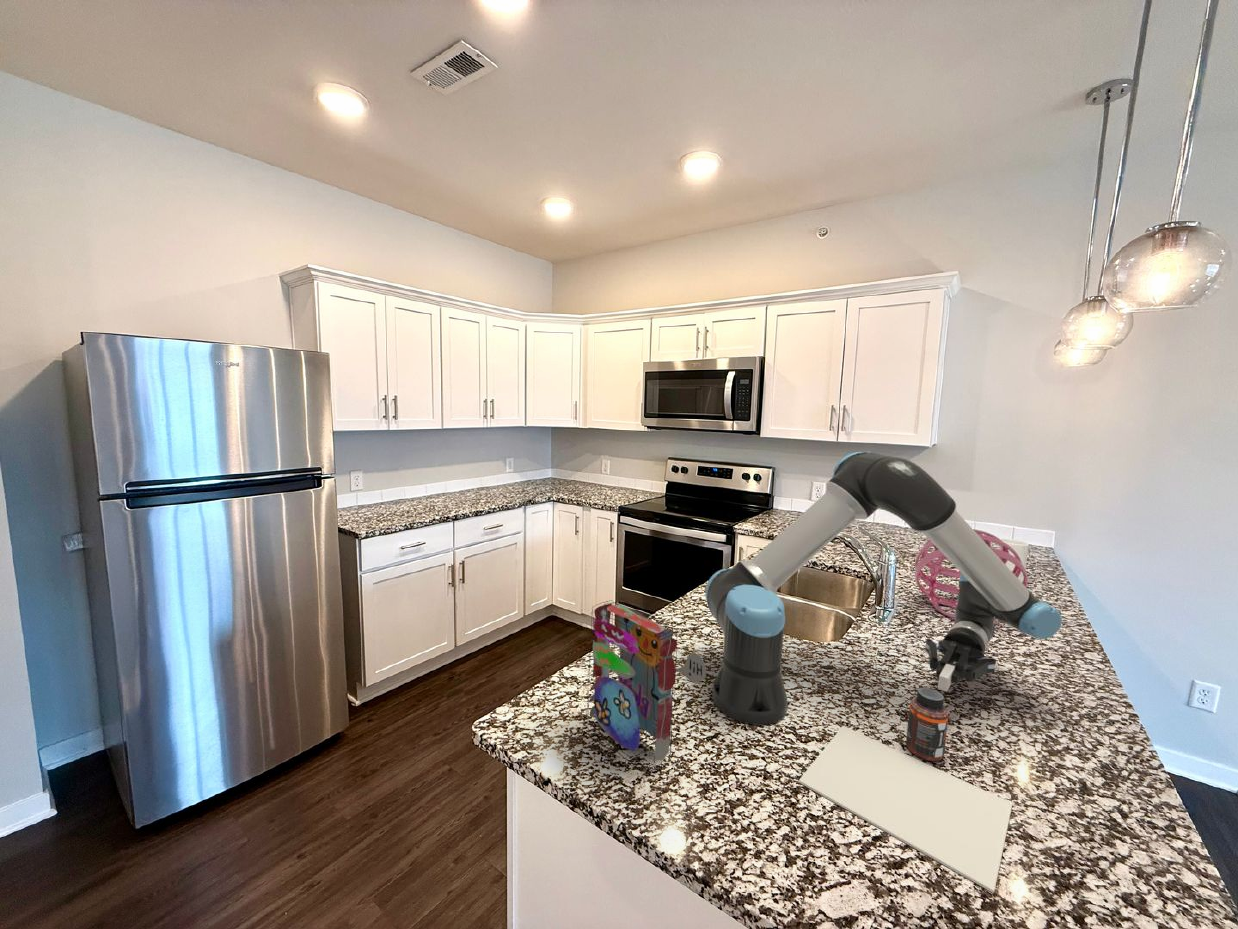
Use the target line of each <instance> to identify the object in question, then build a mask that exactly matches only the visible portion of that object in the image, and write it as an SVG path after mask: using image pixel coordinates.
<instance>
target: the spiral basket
mask: <svg viewBox="0 0 1238 929" xmlns="http://www.w3.org/2000/svg"><path fill="white" fill-rule="evenodd" d="M972 529H973V530H974V531H975V532H976V533H977V534H978V535H979V536H980V538H981V539H982V540H983V541H984V542H985V543H986V544H987V545H988V546H989V547H990V548H991V550H992V551H993V552H994V553H995V554H996V555H997V556H998V557H999V558H1000V559H1001V560H1002V562H1003V563H1004V564H1006V562H1007V561H1010V562H1012V563H1013V564H1015V567H1014V569H1013V571H1012V573H1013V574H1014V575H1015V576H1016V577H1017V578H1018V577H1019V575H1020V573H1021V571H1022V573H1023V582H1022V583H1023V585H1024V586H1025V587H1026V588H1027V586H1028V582H1029V581H1028V579H1029V578H1028V572H1027V568H1026V569H1025V567H1024V566H1023V564H1022V562H1021V559H1020V557H1019V555H1018V554H1017V553H1016V551H1015V550H1014V549H1013V548H1012V547H1010V546H1009V545H1008V544H1006V543H1005V542H1003V541H1002V540H1000V539H1001V538H999V537H997V535H994V534H993V533H990V532H987V531H983V530H980V529H974V528H972ZM991 543H995V544H996V545H998V547H999V546H1000V550H999V548H995V547H992V544H991ZM932 547H933V550H934V551H931V552H930V553H928V549H930V548H932ZM1008 550H1010V551H1011V552H1012V553H1013V555H1014V556H1015V557H1014V556H1012V555H1011V554H1009V551H1008ZM915 557H916V558H915V559H914V560H915V561H914V568H915V569H914V580H915V584H916V586H917V587H918V589H919V591H920V592H921V593H922V594H924V595H925V596H926V597H927V598H928V599H929V601H930V603H931V604H932V606H933V607H934V608H935V609H936V611H938V612H939V613H941V614H942V615H944V616H946V617H948V618H951V619H955V614H951V613H948V612H946V611H945V610H943V609H942V608H941V607H940V605H939V604H941V605H944V606H947V607H951V608H955V609H956V607H957V600H951V599H947V598H943V597H941V596H940V595H937V594H936V590H938V591H941V592H945V593H949V594H954V595H958V589H959V586H955V585H949V584H945V583H941V582H939V581H938V579H937V576H938V575H941V576H945V577H949V578H954V579H960V575H961V572H960V571H959V570H958V569H951V568H947V567H945V566H942V565H943V564H942V563H943V561H945V560H947V561H949V560H948V559H947V558H946V557H945V556H944V554H943V553H942V552H941V551H940V550H939V549H938V548H937V547H936V546H935V545H934V544H933V543H932V542H931V541H930V540H929V539H928V540H927V541H926V542H925V543H924V545H923V546H922V547H921V549H920V550H919V551H918V552H917V554H916V556H915ZM920 558H921V559H920ZM934 560H935V561H934ZM925 566H926V567H927V568H928V569H929V574H928V575H927V574H925V573H924V571H923V570H922V569H923V568H924V567H925ZM919 578H920V579H921V580H922V581H923V582H924V584H925V585H926V587H927V588H925V587H924V586H923V585H922V583H921V582H920V580H919Z"/></svg>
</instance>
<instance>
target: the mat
mask: <svg viewBox="0 0 1238 929" xmlns="http://www.w3.org/2000/svg"><path fill="white" fill-rule="evenodd" d="M798 783H799V784H801V785H803V786H804V787H806V788H808V789H809V790H811V791H813V792H815V793H817V794H818V795H820V796H822V797H824V798H826V799H827V800H829V801H831V802H832V803H834V804H836V805H838V806H839V807H840V808H843V809H845V810H847V811H848V812H850V813H852V814H854V815H855V816H857V817H858V818H860V819H862V820H864V821H866V822H868V823H869V824H871V825H873V826H874V827H876V828H878V829H880V830H882V831H884V832H885V833H886V834H888V835H891V836H892V837H894V838H896V839H897V840H900V841H901V842H902V843H904V844H906V845H907V846H910V847H912V849H914V850H917V851H919V853H922V854H923V855H926V856H928V857H929V858H931V859H932V860H934V861H936V862H938V863H939V864H942V865H943V866H945V867H947V869H950V870H952V871H954V872H956V873H957V874H959V875H961V876H963V877H964V878H966V879H968V880H969V881H971V882H973V883H975V884H976V885H978V886H980V887H982V888H984V889H985V890H987V891H989V892H991V893H992V894H995V891H996V885H997V880H998V876H999V871H1000V866H1001V862H1002V858H1003V857H1002V856H1003V852H1004V847H1005V842H1006V836H1007V832H1008V827H1009V822H1010V818H1011V813H1012V810H1013V809H1012V808H1013V802H1011V801H1008V800H1007V799H1004V798H1002V797H1000V796H998V795H996V794H994V793H991V792H989V791H986V790H985V789H982V788H980V787H978V786H975V785H974V784H971V783H969V782H968V781H965V780H963V779H960V778H959V777H956V776H954V775H952V774H949V773H947V772H946V771H943V770H941V769H939V768H936V767H934V766H932V765H930V764H928V763H925V762H923V761H921V760H920V759H919V760H918V759H917V758H914V757H913V756H911V755H908V754H906V753H903V752H902V751H899V750H897V749H895V748H894V747H893V748H892V747H891V746H889V745H886V744H884V743H882V742H880V741H877V740H875V739H873V738H871V737H869V736H867V735H864V734H863V733H861V732H858V731H856V730H854V729H851V728H850V727H847V726H845V725H842V726H841V727H840V729H839V730H838V731H837V733H836V734H835V735H834V736H833V737H832V738H831V740H830V741H829V742H828V743H827V745H826V746H825V747H824V748H823V749H822V751H821V752H820V754H819V755H818V756H817V757H816V758H815V759H814V761H813V762H812V763H811V764H810V766H809V767H808V768H807V769H806V771H805V772H804V773H803V774H802V776H801V777H800V779H798Z"/></svg>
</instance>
